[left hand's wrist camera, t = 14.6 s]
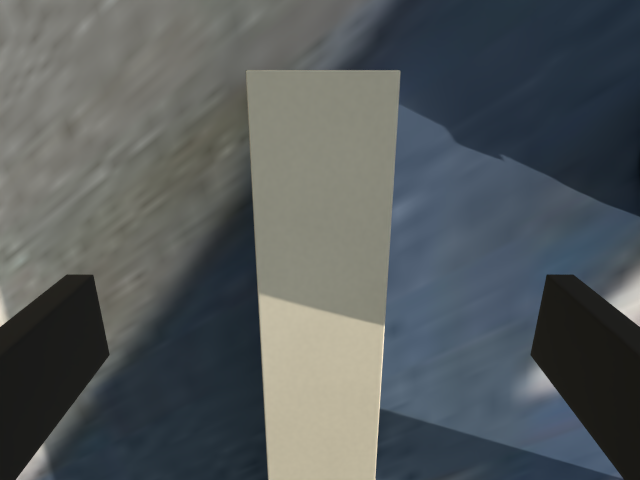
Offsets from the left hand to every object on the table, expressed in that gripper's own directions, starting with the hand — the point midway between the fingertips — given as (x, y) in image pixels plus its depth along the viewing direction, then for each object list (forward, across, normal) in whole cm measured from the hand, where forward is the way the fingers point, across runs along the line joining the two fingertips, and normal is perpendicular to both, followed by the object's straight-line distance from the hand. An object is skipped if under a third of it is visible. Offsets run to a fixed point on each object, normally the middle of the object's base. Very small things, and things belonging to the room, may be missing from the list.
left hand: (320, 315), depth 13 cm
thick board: (+22, 0, -30) cm, 37 cm away
